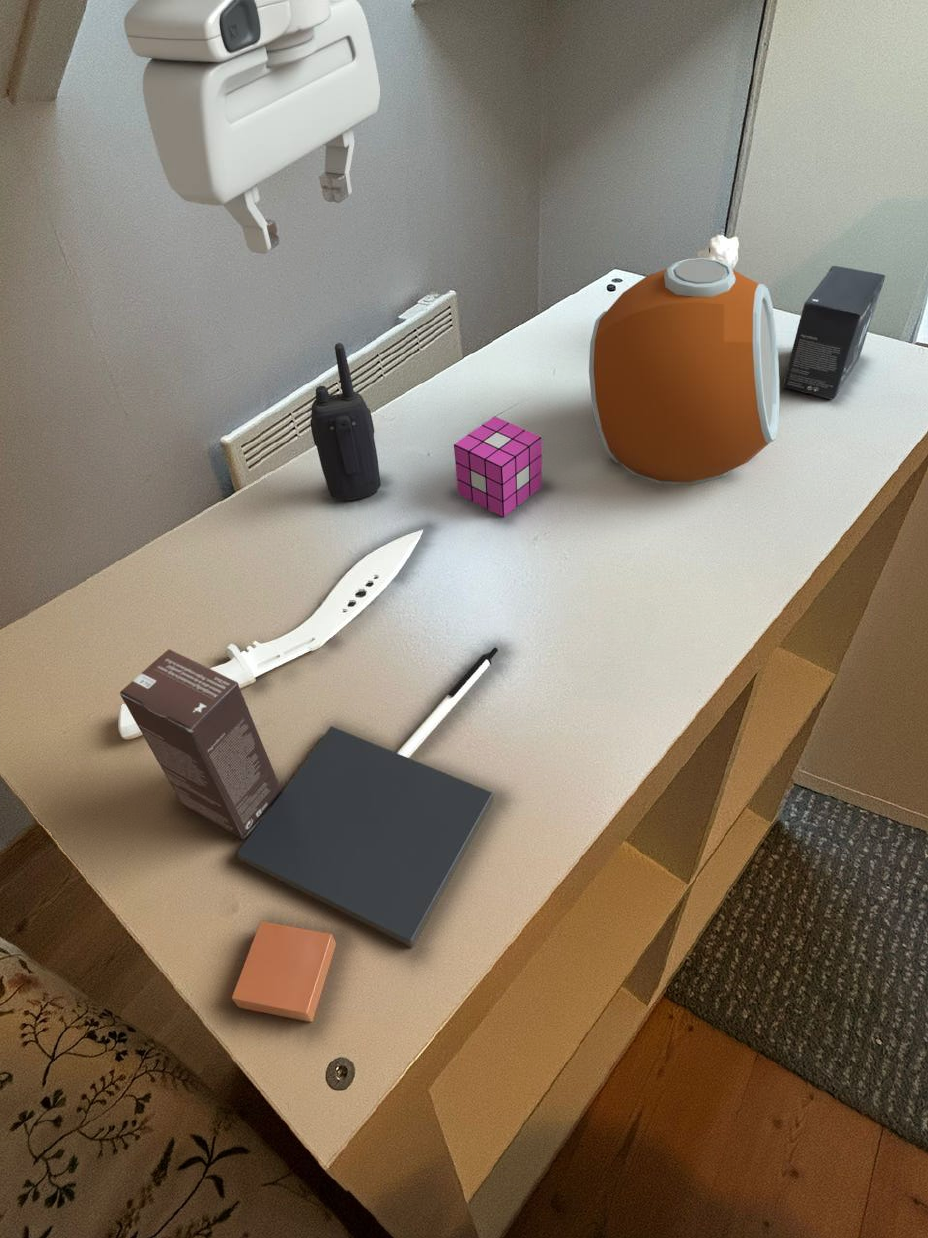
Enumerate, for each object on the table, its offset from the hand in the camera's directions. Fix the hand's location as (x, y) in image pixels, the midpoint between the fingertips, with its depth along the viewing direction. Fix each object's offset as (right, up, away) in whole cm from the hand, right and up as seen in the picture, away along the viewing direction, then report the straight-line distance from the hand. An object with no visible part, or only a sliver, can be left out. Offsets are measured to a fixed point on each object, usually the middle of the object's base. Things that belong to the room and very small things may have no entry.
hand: (303, 222), depth 61 cm
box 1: (-4, -42, -4) cm, 42 cm away
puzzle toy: (+15, -17, +17) cm, 29 cm away
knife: (-2, -30, +7) cm, 31 cm away
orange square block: (+2, -50, -12) cm, 52 cm away
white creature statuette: (+38, +2, +33) cm, 51 cm away
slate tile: (+6, -43, -6) cm, 44 cm away
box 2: (+50, -3, +27) cm, 57 cm away
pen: (+9, -38, -1) cm, 39 cm away
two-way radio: (+2, -17, +18) cm, 25 cm away
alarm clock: (+33, -12, +20) cm, 40 cm away
